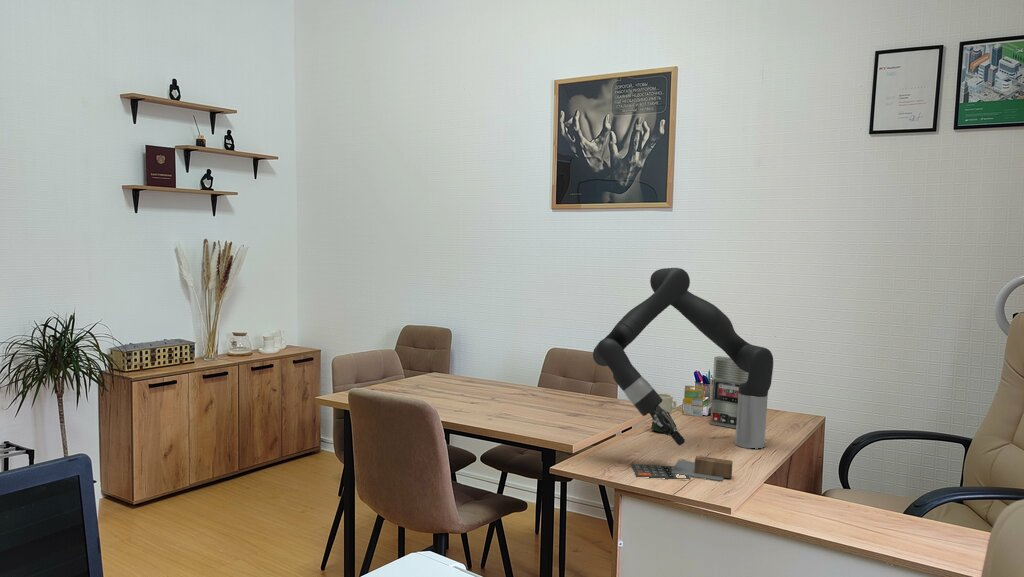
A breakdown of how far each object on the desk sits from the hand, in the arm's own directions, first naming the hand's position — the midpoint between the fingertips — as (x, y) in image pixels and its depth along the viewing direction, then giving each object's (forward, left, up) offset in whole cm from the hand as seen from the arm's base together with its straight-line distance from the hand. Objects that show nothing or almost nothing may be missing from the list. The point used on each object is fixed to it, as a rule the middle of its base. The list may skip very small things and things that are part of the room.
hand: (682, 443), depth 208 cm
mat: (-2, +5, -8) cm, 10 cm away
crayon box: (-77, -6, -8) cm, 78 cm away
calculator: (+5, -5, -9) cm, 11 cm away
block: (0, +4, -6) cm, 7 cm away
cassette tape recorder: (-65, +9, -8) cm, 67 cm away
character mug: (-43, -13, -8) cm, 46 cm away
